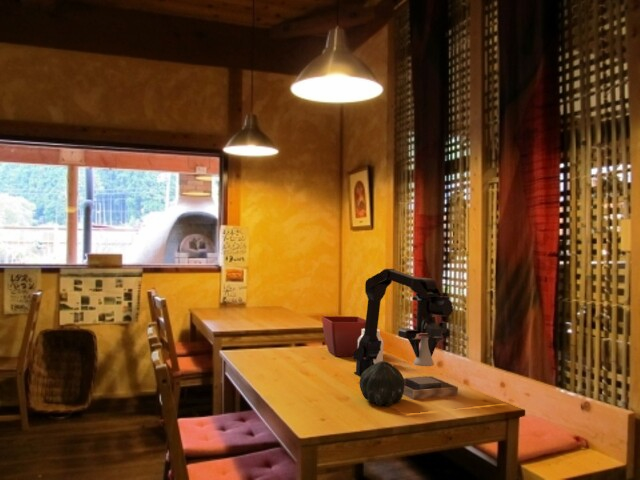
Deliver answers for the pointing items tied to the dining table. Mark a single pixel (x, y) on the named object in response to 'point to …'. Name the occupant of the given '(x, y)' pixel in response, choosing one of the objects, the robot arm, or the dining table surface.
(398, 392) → the squash
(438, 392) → the brown tray
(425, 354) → the flask
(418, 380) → the block
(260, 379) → the dining table surface
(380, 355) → the jar
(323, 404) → the dining table surface
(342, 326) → the plant pot
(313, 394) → the dining table surface
